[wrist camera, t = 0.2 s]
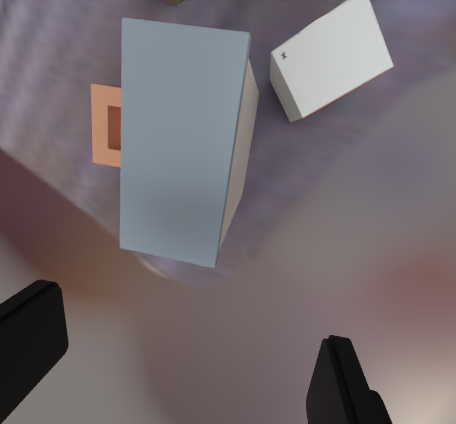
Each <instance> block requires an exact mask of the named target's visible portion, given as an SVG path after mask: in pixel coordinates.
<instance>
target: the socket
mask: <svg viewBox="0 0 456 424" xmlns="http://www.w3.org/2000/svg"><path fill="white" fill-rule="evenodd" d="M91 108H92V145H93V163H99V164H104V165H110V166H115V167H121V88H117V87H110V86H103V85H96V84H91Z"/></svg>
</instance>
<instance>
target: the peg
mask: <svg viewBox="0 0 456 424" xmlns="http://www.w3.org/2000/svg"><path fill="white" fill-rule="evenodd" d="M164 1H165V2H166V3H168V4H172V5H175V4H178V3H180V2H182V1H183V0H164Z"/></svg>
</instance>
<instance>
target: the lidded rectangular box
mask: <svg viewBox="0 0 456 424" xmlns="http://www.w3.org/2000/svg"><path fill="white" fill-rule="evenodd" d="M250 44H251V36H250V33H248V32H240V31H231V30H223V29H215V28H206V27H198V26H190V25H181V24H173V23H164V22H156V21H148V20H139V19H131V18H123V17H122V65H121V175H120V248H123V249H127V250H132V251H137V252H141V253H146V254H151V255H155V256H160V257H165V258H169V259H174V260H179V261H183V262H188V263H193V264H197V265H202V266H206V267H211V268H215V266H216V263H217V261H218V254H219V249H220V247H221V245H222V242H223V240H224V237H225V235H226V233H227V230H228V228H229V225H230V223H231V221H232V218H233V216H234V213H235V211H236V209H237V206H238V204H239V201H240V199H241V197H242V193H243V188H244V182H245V176H246V170H247V164H248V159H249V153H250V147H251V141H252V135H253V129H254V124H255V118H256V112H257V106H258V100H259V92H258V89H257V85H256V82H255V78H254V75H253V71H252V68H251V65H250V61H249V58H248V57H249V51H250Z"/></svg>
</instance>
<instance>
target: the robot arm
mask: <svg viewBox="0 0 456 424" xmlns="http://www.w3.org/2000/svg"><path fill="white" fill-rule="evenodd" d="M67 349H68V336H67V329H66V321H65V313H64V305H63V297H62V290H61V288H60V287H59V285H58V284H57V283H56V282H51V281H46V280H37V281H35V282H34V283H32V284H30V285H29V286H27V287H26V288H24V289H23V290H21V291H20V292H18V293H17V294H15V295H13V296H12V297H11V298H9V299H7V300H6V301H4V302H3V303H1V304H0V424H1V423H2V422H3V421H4V420H5V419H6V418H7V416H9V415H10V414H11V412H12V411H13V410H14V409H15V408H16V407H17V406H18V405H19V403H20V402H21V401H22V400H23V399H24V398H25V397H26V396H27V395H28V394H29V393H30V391H31V390H32V389H33V388H34V387H35V386H36V385H37V384H38V383H39V382H40V381H41V379H42V378H43V377H44V376H45V375H46V374H47V373H48V372H49V371H50V370H51V369H52V368H53V366H54V365H55V364H56V363H57V362H58V361H59V360H60V359H61V358H62V356H63V355H64V354H65V353H66V351H67ZM306 410H307V419H308V424H392V422H391V419H390V417H389V415H388V412H387V410H386V407H385V405H384V402H383V400H382V398H381V397H380V395H379V394H378V393H377V392H376V391H374V390H370V389H369V386H368V384H367V381H366V379H365V376H364V373H363V371H362V368H361V366H360V363H359V360H358V358H357V355H356V353H355V350H354V347H353V345H352V342H351V340H350V339H349V338H345V337H339V336H334V335H330V336H329V338H328V339H323V340H322V343H321V347H320V350H319V354H318V358H317V361H316V365H315V368H314V372H313V376H312V379H311V383H310V386H309V390H308V394H307V399H306Z"/></svg>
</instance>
